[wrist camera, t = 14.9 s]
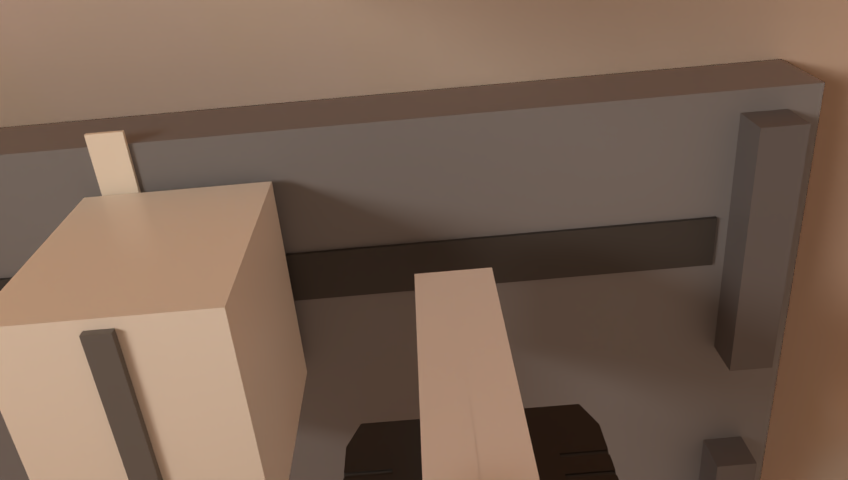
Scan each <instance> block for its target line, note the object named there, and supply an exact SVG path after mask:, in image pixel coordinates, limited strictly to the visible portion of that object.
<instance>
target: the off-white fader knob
mask: <svg viewBox="0 0 848 480" xmlns="http://www.w3.org/2000/svg"><path fill="white" fill-rule="evenodd" d="M306 376H307V369H306V363H305V358H304V353H303V347H302V342H301V336H300V331H299V326H298V320H297V315H296V309H295V304H294V299H293V293H292V288H291V283H290V277H289V272H288V266H287V261H286V256H285V250H284V245H283V239H282V234H281V229H280V223H279V218H278V213H277V207H276V202H275V196H274V191H273V186H272V181H269V182H257V183H246V184H234V185H223V186H212V187H200V188H189V189H177V190H166V191H154V192H143V193H131V194H120V195H108V196H97V197H85V198H83V199H82V200H81V201H80V203H79V204H78V205H77V206H76V207H75V208H74V209H73V210H72V212H71V213H70V214H69V215H68V216H67V217H66V218H65V219H64V220H63V222H62V223H61V224H60V225H59V226H58V227H57V228H56V229H55V231H54V232H53V233H52V234H51V235H50V236H49V237H48V238H47V239H46V241H45V242H44V243H43V244H42V245H41V246H40V247H39V248H38V250H37V251H36V252H35V253H34V254H33V255H32V256H31V257H30V258H29V260H28V261H27V262H26V263H25V264H24V265H23V266H22V267H21V269H20V270H19V271H18V272H17V273H16V274H15V275H14V276H13V277H12V279H11V280H10V281H9V282H8V283H7V284H6V285H5V286H4V288H3V289H2V290H1V291H0V411H1V414H2V416H3V418H4V421H5V423H6V426H7V428H8V430H9V433H10V435H11V437H12V440H13V442H14V444H15V447H16V449H17V451H18V454H19V456H20V458H21V461H22V463H23V465H24V468H25V470H26V473H27V475H28V477H29V480H289V476H290V470H291V464H292V458H293V452H294V447H295V441H296V435H297V429H298V423H299V417H300V411H301V405H302V399H303V393H304V387H305V381H306Z"/></svg>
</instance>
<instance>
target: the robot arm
mask: <svg viewBox="0 0 848 480" xmlns="http://www.w3.org/2000/svg"><path fill="white" fill-rule="evenodd" d="M414 277H415V302H416V328H417V353H418V379H419V404H420V419H412V420H400V421H388V422H376V423H363V424H360V426H359V428H358V429H357V431H356V432H355V434H354V435H353V437H352V439H351V440H350V442H349V443H348V445H347V447H346V455H345V467H344V478H343V480H619V479H618V476H617V475H616V472H615V467H614V465H613V462H612V459H611V456H610V454H609V453H608V447H607V445H606V442H605V439H604V436H603V433H602V430H601V428H600V425H599V423H598V422H597V421H596V420H595V419H594V418H593V417H592V416H591V415H590V414H589V413H588V412H587V411H586V410H585V409H584V408H583V407H582V406H581V405H580V404H570V405H558V406H546V407H534V408H523V403H522V399H521V395H520V390H519V386H518V381H517V377H516V372H515V368H514V363H513V359H512V355H511V350H510V346H509V341H508V337H507V332H506V328H505V323H504V319H503V315H502V310H501V306H500V301H499V297H498V292H497V288H496V284H495V279H494V275H493V270H492V267H491V268H479V269H467V270H455V271H443V272H432V273H420V274H414Z"/></svg>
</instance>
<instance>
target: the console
mask: <svg viewBox="0 0 848 480" xmlns="http://www.w3.org/2000/svg"><path fill="white" fill-rule="evenodd" d="M824 85H825V82H823V81H821V80H819V79H817V78H816V77H814V76H812V75H810V74H808V73H806V72H804V71H803V70H801V69H799V68H797V67H795V66H793V65H792V64H790V63H788V62H786V61H784V60H782V59H777V60H765V61H754V62H743V63H731V64H720V65H709V66H697V67H686V68H675V69H663V70H652V71H640V72H629V73H618V74H606V75H595V76H584V77H572V78H561V79H549V80H538V81H527V82H515V83H504V84H493V85H481V86H470V87H458V88H447V89H436V90H424V91H413V92H402V93H390V94H379V95H368V96H356V97H345V98H333V99H322V100H311V101H299V102H288V103H277V104H265V105H254V106H242V107H231V108H220V109H208V110H197V111H186V112H174V113H163V114H152V115H140V116H129V117H117V118H106V119H95V120H83V121H72V122H61V123H49V124H38V125H26V126H15V127H4V128H0V291H1V290H2V289H3V288H4V286H5V285H6V284H7V283H8V282H9V281H10V280H11V279H12V277H13V276H14V275H15V274H16V273H17V272H18V271H19V270H20V269H21V267H22V266H23V265H24V264H25V263H26V262H27V261H28V260H29V258H30V257H31V256H32V255H33V254H34V253H35V252H36V251H37V250H38V248H39V247H40V246H41V245H42V244H43V243H44V242H45V241H46V239H47V238H48V237H49V236H50V235H51V234H52V233H53V232H54V231H55V229H56V228H57V227H58V226H59V225H60V224H61V223H62V222H63V220H64V219H65V218H66V217H67V216H68V215H69V214H70V213H71V212H72V210H73V209H74V208H75V207H76V206H77V205H78V204H79V203H80V201H81V200H82V199H83V198H85V197H97V196H108V195H120V194H131V193H143V192H154V191H166V190H177V189H189V188H200V187H212V186H223V185H234V184H246V183H257V182H269V181H272V186H273V191H274V196H275V202H276V207H277V213H278V218H279V223H280V229H281V234H282V239H283V245H284V250H285V256H286V261H287V266H288V272H289V277H290V283H291V288H292V293H293V299H294V304H295V309H296V315H297V320H298V326H299V331H300V336H301V342H302V347H303V353H304V358H305V363H306V369H307V376H306V381H305V387H304V393H303V399H302V405H301V411H300V417H299V423H298V429H297V435H296V441H295V447H294V452H293V458H292V464H291V470H290V476H289V480H343V478H344V467H345V455H346V447H347V445H348V443H349V442H350V440H351V439H352V437H353V435H354V434H355V432H356V431H357V429H358V428H359V426H360V424H363V423H376V422H388V421H400V420H412V419H420V404H419V379H418V353H417V328H416V302H415V277H414V274H420V273H432V272H443V271H455V270H467V269H479V268H491V267H492V270H493V275H494V279H495V284H496V288H497V292H498V297H499V301H500V306H501V310H502V315H503V319H504V323H505V328H506V332H507V337H508V341H509V346H510V350H511V355H512V359H513V363H514V368H515V372H516V377H517V381H518V386H519V390H520V395H521V399H522V403H523V408H534V407H546V406H558V405H570V404H580V405H581V406H582V407H583V408H584V409H585V410H586V411H587V412H588V413H589V414H590V415H591V416H592V417H593V418H594V419H595V420H596V421H597V422H598V423H599V425H600V428H601V430H602V433H603V436H604V439H605V442H606V445H607V447H608V453H609V454H610V456H611V459H612V462H613V465H614V467H615V472H616V475H617V476H618V479H619V480H760V477H761V471H762V465H763V459H764V453H765V447H766V440H767V434H768V428H769V422H770V416H771V410H772V404H773V398H774V391H775V385H776V379H777V373H778V367H779V361H780V355H781V349H782V342H783V336H784V330H785V324H786V318H787V312H788V306H789V300H790V293H791V287H792V281H793V275H794V269H795V263H796V257H797V250H798V244H799V238H800V232H801V226H802V220H803V214H804V208H805V201H806V195H807V189H808V183H809V177H810V171H811V165H812V159H813V152H814V146H815V140H816V134H817V128H818V122H819V116H820V110H821V103H822V97H823V91H824ZM0 480H29V477H28V475H27V473H26V470H25V468H24V465H23V463H22V461H21V458H20V456H19V454H18V451H17V449H16V447H15V444H14V442H13V440H12V437H11V435H10V433H9V430H8V428H7V426H6V423H5V421H4V418H3V416H2V414H1V411H0Z"/></svg>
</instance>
